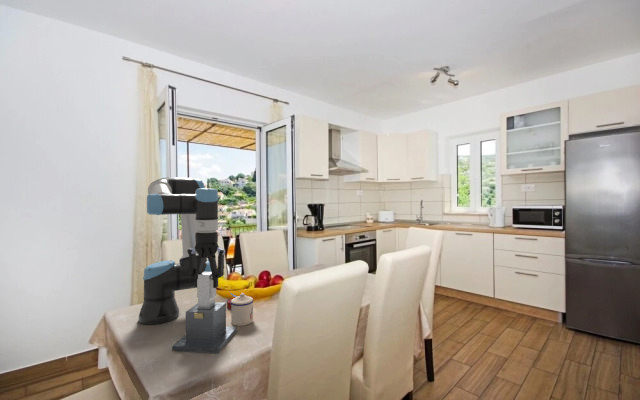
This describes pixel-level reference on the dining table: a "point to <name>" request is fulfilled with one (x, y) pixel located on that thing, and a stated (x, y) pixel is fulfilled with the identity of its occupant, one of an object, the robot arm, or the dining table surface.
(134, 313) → the dining table surface
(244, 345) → the dining table surface
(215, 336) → the stand
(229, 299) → the canned food
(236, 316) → the teacup with lid
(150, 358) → the dining table surface
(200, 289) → the post
